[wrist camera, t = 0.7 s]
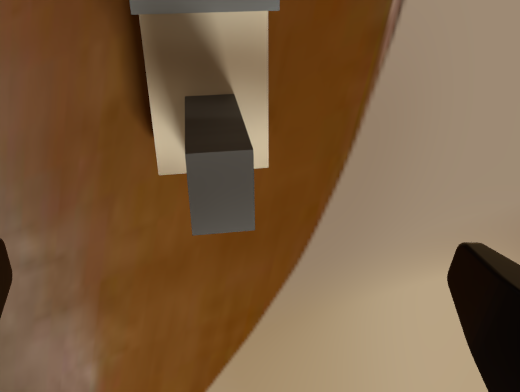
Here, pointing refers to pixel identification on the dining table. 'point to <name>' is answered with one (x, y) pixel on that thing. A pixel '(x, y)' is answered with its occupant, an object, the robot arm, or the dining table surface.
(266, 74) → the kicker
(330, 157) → the dining table surface
